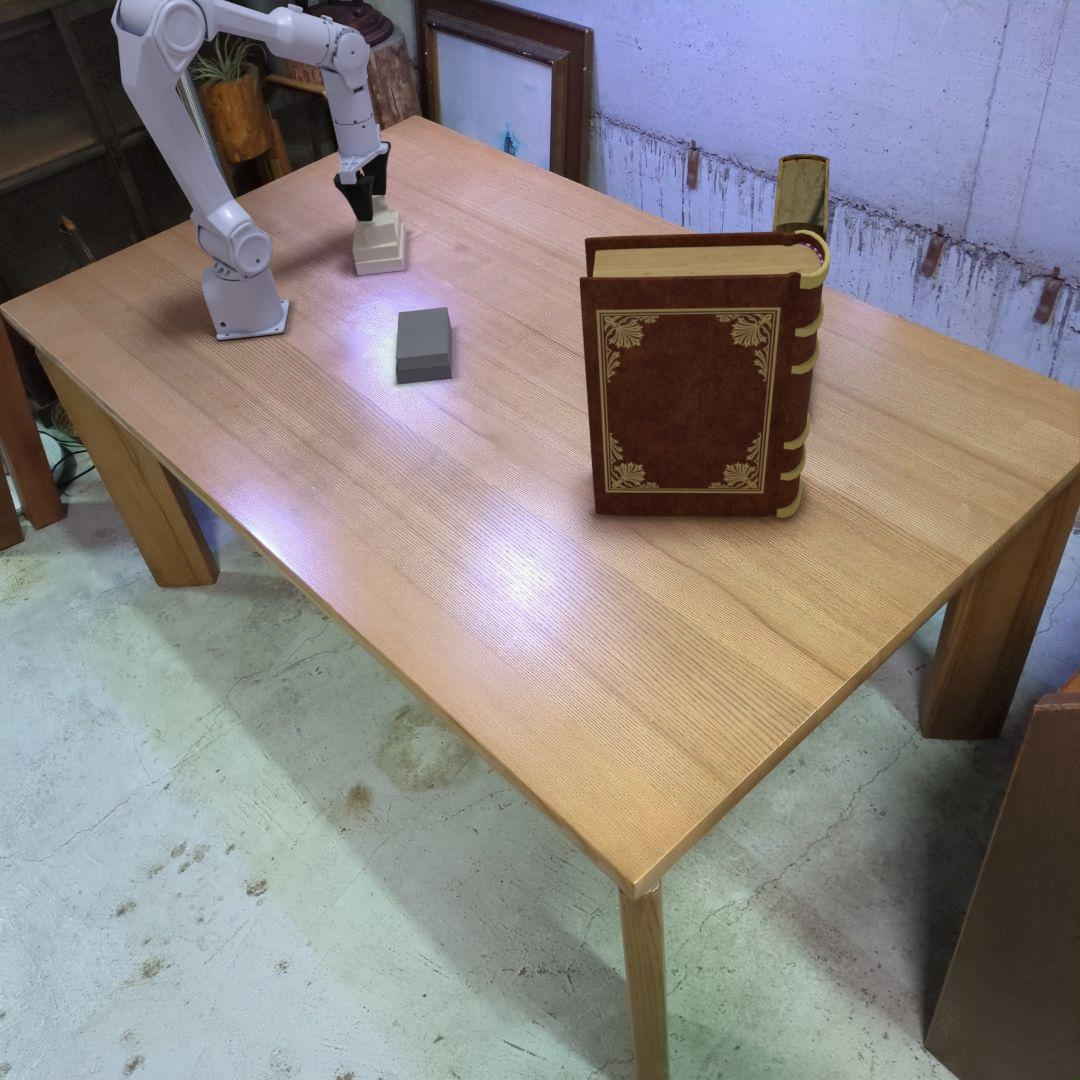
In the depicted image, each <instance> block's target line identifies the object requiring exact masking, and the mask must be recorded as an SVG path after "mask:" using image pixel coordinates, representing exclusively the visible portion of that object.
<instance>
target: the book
mask: <svg viewBox="0 0 1080 1080" xmlns="http://www.w3.org/2000/svg"><path fill="white" fill-rule="evenodd" d="M777 168H778V169H777V179H776V188H775V200H774V209H773V220H772V231H771V232H779V231H783V232H785V233H792V232H794V231H799V230H807V231H812V232H814V233H816V234H817V235H819V236H820V237H821V238H822V239H823V240H824V241H825V243H826V244H827V236H828V226H829V225H828V224H829V222H828V221H829V191H830V159H829V158H828V157H826V156H823V155H818V154H811V153H798V154H797V153H795V154H790V155H786V156H783V157H781V158H779V159H778V167H777Z"/></svg>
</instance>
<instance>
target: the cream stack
mask: <svg viewBox="0 0 1080 1080" xmlns="http://www.w3.org/2000/svg"><path fill="white" fill-rule="evenodd" d="M389 211H390V214H391V217H392V219H393V222H394V227H395V232H396V237H397V241H395V242H390V243H385V244H381V245H376V246H371V247H367V245H366V242H365V238H364V235H363V232H362V228H361V225H360V222H359V221H358V219H357V218H356V217H355V224H354V232H353V241H352V250H351V251H352V255H353V259H354V266H355V269H356V274H357V276H365V275H374V274H382V273H393V272H401V271H405V268H406V267H405V264H406V263H405V262H406V246H407V245H406V244H407V230H406V224H405V221H402V217H401V211H400V210H399V209H397V210H389Z"/></svg>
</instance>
